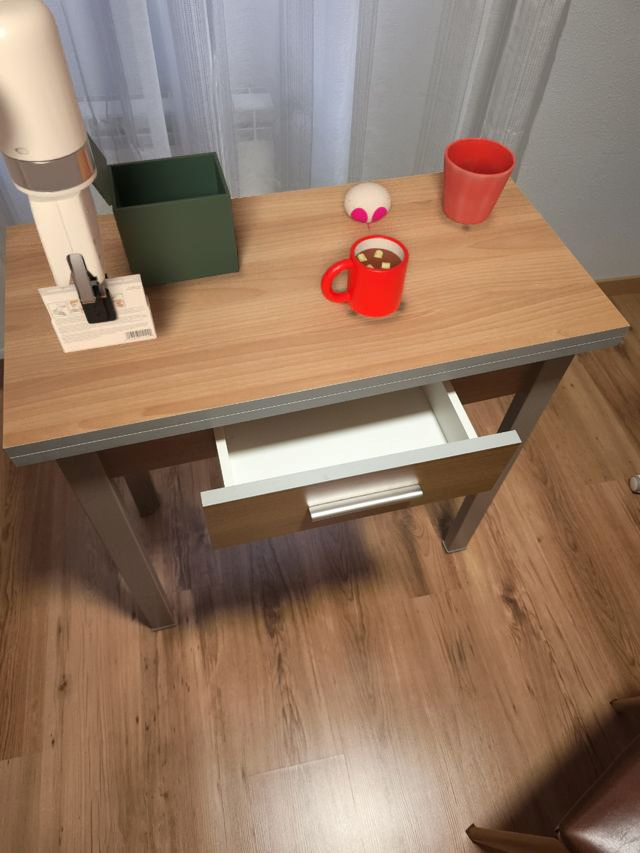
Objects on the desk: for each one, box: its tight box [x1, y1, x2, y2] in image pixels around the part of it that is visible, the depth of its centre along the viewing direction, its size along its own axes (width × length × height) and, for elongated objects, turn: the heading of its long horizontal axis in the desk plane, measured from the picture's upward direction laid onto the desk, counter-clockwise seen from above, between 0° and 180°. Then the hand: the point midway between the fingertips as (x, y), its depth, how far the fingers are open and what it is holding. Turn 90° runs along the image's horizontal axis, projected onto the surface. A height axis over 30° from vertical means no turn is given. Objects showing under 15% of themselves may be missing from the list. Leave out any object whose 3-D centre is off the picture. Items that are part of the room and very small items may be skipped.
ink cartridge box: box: [37, 274, 158, 354], centre depth 66 cm, size 2×11×10 cm, turn 106°
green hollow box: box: [107, 151, 240, 288], centre depth 81 cm, size 15×11×12 cm
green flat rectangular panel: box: [86, 130, 112, 207], centre depth 71 cm, size 7×11×1 cm
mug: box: [320, 234, 410, 318], centre depth 78 cm, size 8×12×8 cm, turn 110°
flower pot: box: [442, 136, 516, 226], centre depth 91 cm, size 11×11×10 cm
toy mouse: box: [343, 181, 392, 232], centre depth 91 cm, size 8×8×7 cm
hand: (101, 311), depth 67 cm, fingers closed on ink cartridge box, 2 cm apart
